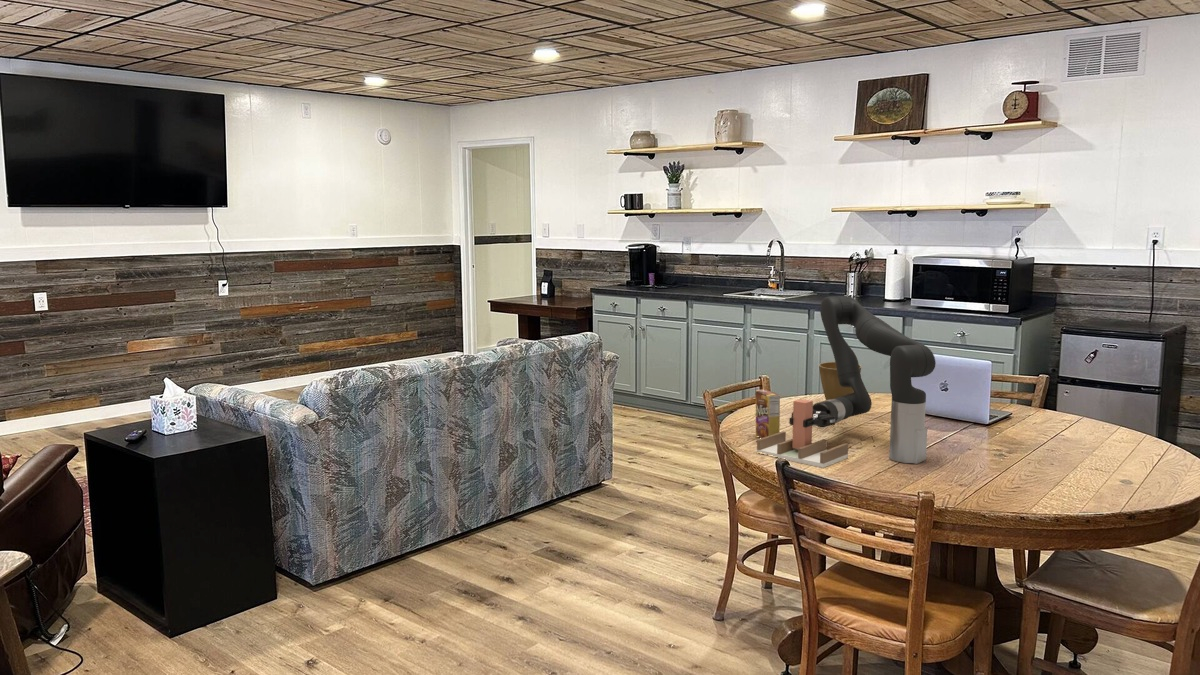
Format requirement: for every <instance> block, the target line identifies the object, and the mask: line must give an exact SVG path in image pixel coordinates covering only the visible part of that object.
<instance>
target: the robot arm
mask: <svg viewBox="0 0 1200 675" xmlns="http://www.w3.org/2000/svg"><path fill="white" fill-rule="evenodd" d="M819 310H820V311H819V313H820V317H821V322H822V324H823V328H824V330H825V334H826V336H827V339H828V342H829V346H830V348H831V350H832V354H833V357H834V358H833V359H834V362H835V363H836V368H837V374H838V380H839V384H840V385H841V386H842V387H852V389H853V390H854V393H851V394H848V395H844V396H841V397H838V398H835V399H831V400H826V399H825V400H823V401H820V402H817V403H813V413H812V418H809V419H806V420H803V427H805V428H806V427H809V426H812V427H818V428H821V429H822V428H827V427H829V426H835V425H836V424H837V423H839V422H841V421H844V420H846V419H848V418H850V417H854V416H859V415H863V414H867V413H868V412H870V411H871V409H872V398H871V396H870V394H869V392H868V390H867V388H866V386H865V384H864V382H863V379H862V376H861V372H860V369H859V365H860V364H859V360H858V357H857V356H856V353H855V352H854V350H853V349H852V347H851V346H850V345H849V344H848V342H847V341H846V339H845V338H844V337H843V335H842V333H841V330H840V327H839V325H850V326H852V327H854V328H855V330H854V331H855V336H856V338H857V340H858V341H859V342H860V343H861V344H862V345H864V346H865V347H866V348H868V349H869V350H870V351H873V352H875V353H877V354H880V355H884V356H887V357H888V356H889V357H890V358H889V386H890V387H889V388H890V393H891V405H890V406H891V407H890V408H891V410H890V411H891V412H890V430H889V431H890V433H889V436H890V437H889V456H888V457H889V459H890V460H891V461H894V462H898V463H903V464H921V463H922V462H924V461H926V460H927V444H928V443H927V442H928V428H927V427H926V426H925V425H926V424H925V423H926V407H927V406H926V402H927V394H926V392H925V391H924V390H923V389H920V388H917V387H914V386H913V385H912V378H922V377H926V376H929V375H931V374H932V373H933V372H934V370H935V368H936V364H937V363H936V358H935V355H934V353H933V351H932V350H931V349H930V348H929V347H928V346H926V345H925V344H923V343H920V342H918V341H916V340H914V339H913V338H910V337H908V336H907V335H905V334H903V333H902V332H900V331H898V330H897V329H895V328H894V327H892V326H891V325H890V324H888V323H887V322H886V321H884V320H882V319H880V318H879V317H877V316H876V315H874V314H873V313H871V312H870V311H868V310H867V309H866V308H865V307H864V306H862V305H861V303H859V302H858V300H856V299H855V298H853V297H851V296H846V295H835V296H834V295H832V296H831V295H830V296H826V297H824V298H823V299H822V300H821V303H820V309H819ZM790 416H791V417H790V418H788V419H789V422H788V423H789V425H791V426H793V411H792V413H791V415H790Z"/></svg>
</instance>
